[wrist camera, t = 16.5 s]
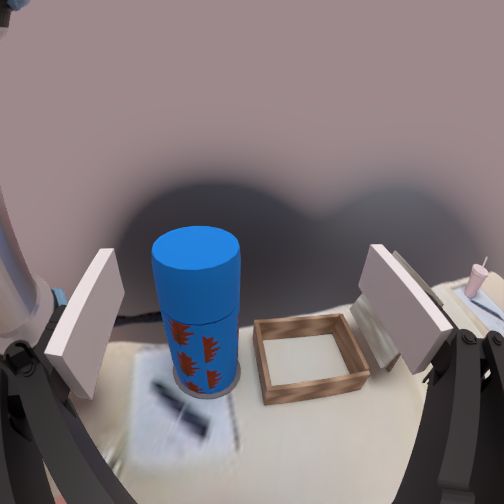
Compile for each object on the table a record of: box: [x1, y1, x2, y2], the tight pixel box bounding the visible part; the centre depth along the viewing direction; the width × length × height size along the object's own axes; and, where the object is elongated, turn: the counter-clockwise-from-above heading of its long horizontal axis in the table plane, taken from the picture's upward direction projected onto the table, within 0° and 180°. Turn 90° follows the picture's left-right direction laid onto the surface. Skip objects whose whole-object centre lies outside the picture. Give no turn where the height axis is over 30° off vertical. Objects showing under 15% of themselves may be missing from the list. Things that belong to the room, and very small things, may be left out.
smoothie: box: [465, 257, 488, 298], centre depth 62 cm, size 6×6×14 cm
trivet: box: [173, 361, 241, 399], centre depth 45 cm, size 12×12×1 cm
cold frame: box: [253, 251, 444, 405], centre depth 43 cm, size 26×16×20 cm, turn 97°
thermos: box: [152, 226, 241, 394], centre depth 39 cm, size 11×11×25 cm
